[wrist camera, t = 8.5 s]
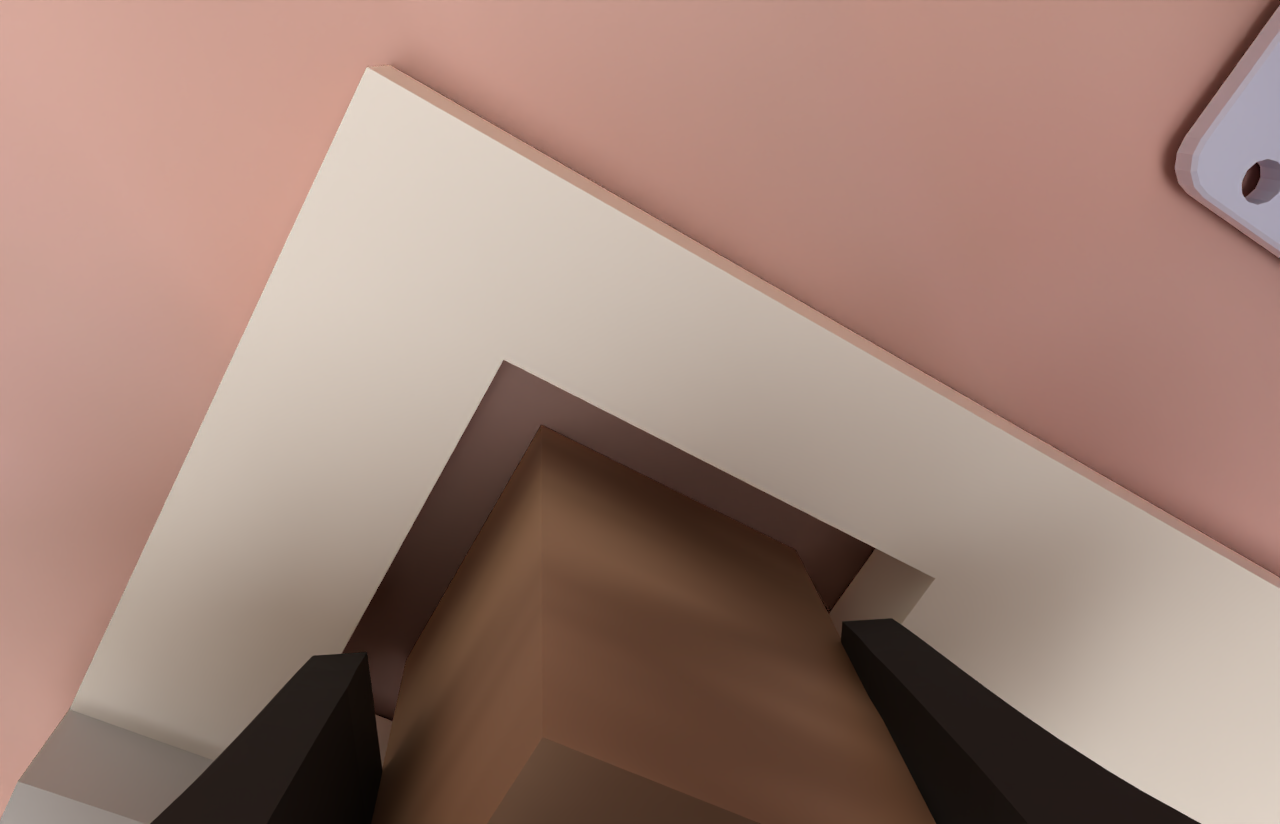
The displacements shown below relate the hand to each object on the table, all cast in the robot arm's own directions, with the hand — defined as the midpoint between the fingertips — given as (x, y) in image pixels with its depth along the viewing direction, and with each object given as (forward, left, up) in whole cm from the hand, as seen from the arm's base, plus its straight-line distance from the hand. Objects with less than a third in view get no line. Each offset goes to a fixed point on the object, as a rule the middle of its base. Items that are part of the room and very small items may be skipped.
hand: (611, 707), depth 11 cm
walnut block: (0, 0, -2) cm, 2 cm away
